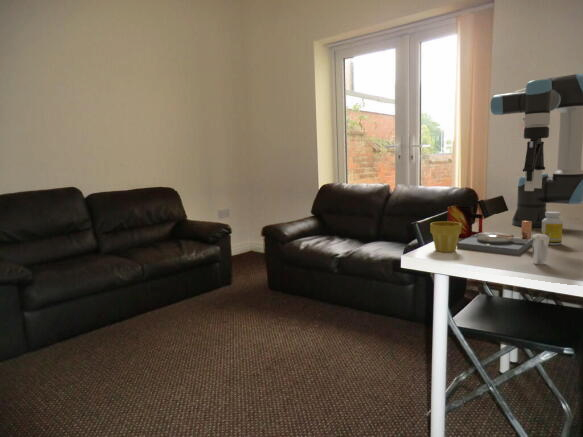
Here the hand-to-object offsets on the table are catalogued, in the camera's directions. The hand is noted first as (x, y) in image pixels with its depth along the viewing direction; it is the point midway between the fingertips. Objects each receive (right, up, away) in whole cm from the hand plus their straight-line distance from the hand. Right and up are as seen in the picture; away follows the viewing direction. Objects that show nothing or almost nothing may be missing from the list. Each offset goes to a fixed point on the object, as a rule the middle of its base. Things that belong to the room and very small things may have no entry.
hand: (533, 189), depth 149 cm
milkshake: (-9, -24, -20) cm, 33 cm away
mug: (-14, -18, +26) cm, 34 cm away
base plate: (-11, -20, +5) cm, 24 cm away
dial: (-9, -18, +3) cm, 21 cm away
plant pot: (-31, -22, +1) cm, 38 cm away
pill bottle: (+11, -20, +7) cm, 24 cm away
